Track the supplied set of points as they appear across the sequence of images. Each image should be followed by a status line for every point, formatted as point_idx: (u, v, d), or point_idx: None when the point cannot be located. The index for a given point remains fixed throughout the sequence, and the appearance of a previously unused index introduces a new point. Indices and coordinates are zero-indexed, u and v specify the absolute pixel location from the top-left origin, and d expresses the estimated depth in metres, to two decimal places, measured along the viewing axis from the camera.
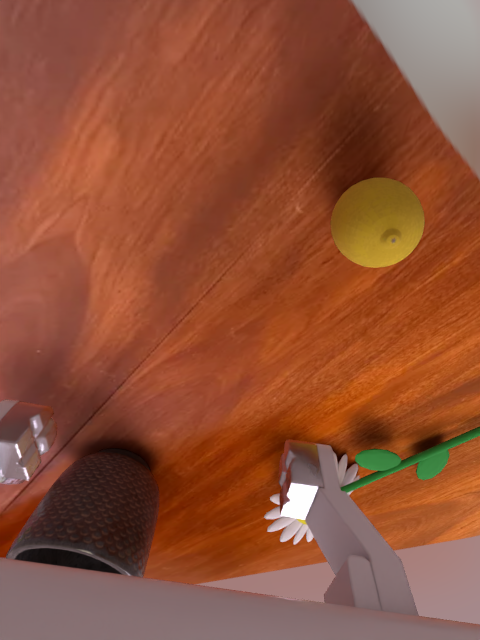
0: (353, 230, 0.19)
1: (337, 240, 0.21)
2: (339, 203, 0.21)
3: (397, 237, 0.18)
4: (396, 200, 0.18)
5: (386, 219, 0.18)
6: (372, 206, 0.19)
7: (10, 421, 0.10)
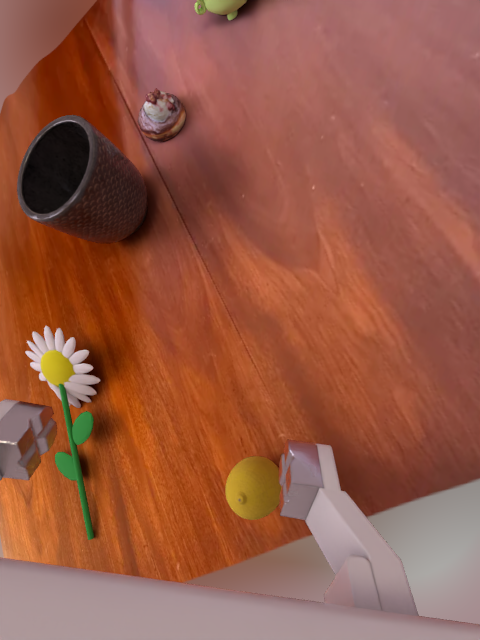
0: (253, 476, 0.31)
1: (251, 461, 0.32)
2: (273, 469, 0.33)
3: (240, 502, 0.29)
4: (262, 507, 0.30)
5: (253, 499, 0.30)
6: (263, 492, 0.30)
7: (10, 421, 0.10)
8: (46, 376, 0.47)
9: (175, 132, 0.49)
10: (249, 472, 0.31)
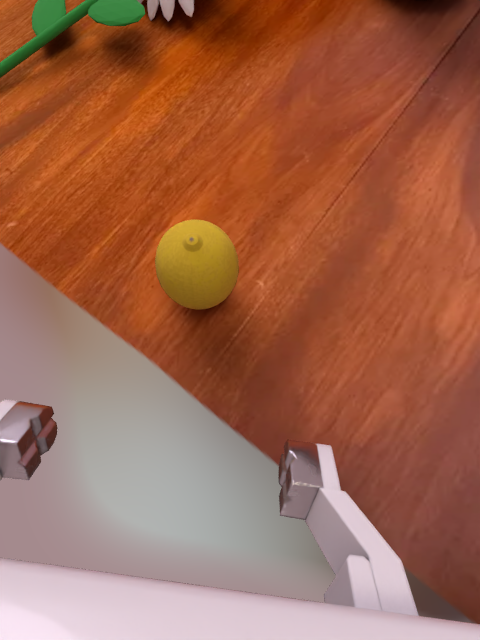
0: (226, 250, 0.20)
1: (233, 245, 0.21)
2: (235, 281, 0.22)
3: (188, 242, 0.18)
4: (193, 279, 0.19)
5: (200, 260, 0.19)
6: (214, 272, 0.19)
7: (10, 421, 0.10)
8: None
9: None
10: (227, 243, 0.20)
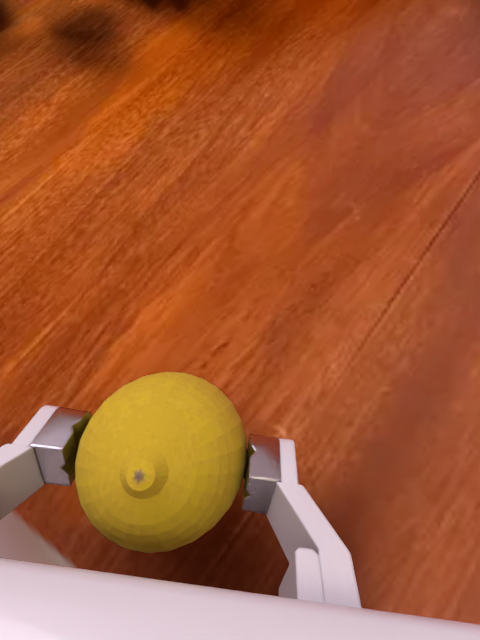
0: (223, 468, 0.09)
1: (237, 422, 0.11)
2: None
3: (132, 485, 0.08)
4: (146, 545, 0.08)
5: (162, 515, 0.08)
6: (194, 527, 0.09)
7: (53, 427, 0.10)
8: None
9: None
10: (225, 446, 0.09)
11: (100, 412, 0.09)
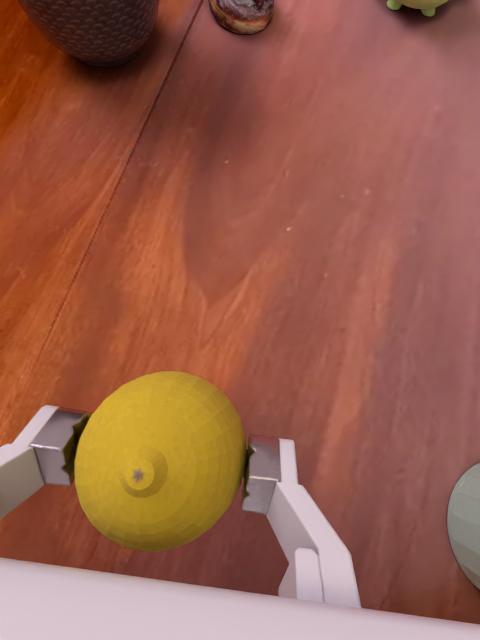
0: (222, 467, 0.09)
1: (237, 421, 0.11)
2: None
3: (131, 484, 0.08)
4: (145, 544, 0.08)
5: (161, 513, 0.08)
6: (193, 526, 0.09)
7: (53, 427, 0.10)
8: None
9: (237, 29, 0.36)
10: (224, 445, 0.09)
11: (99, 411, 0.09)
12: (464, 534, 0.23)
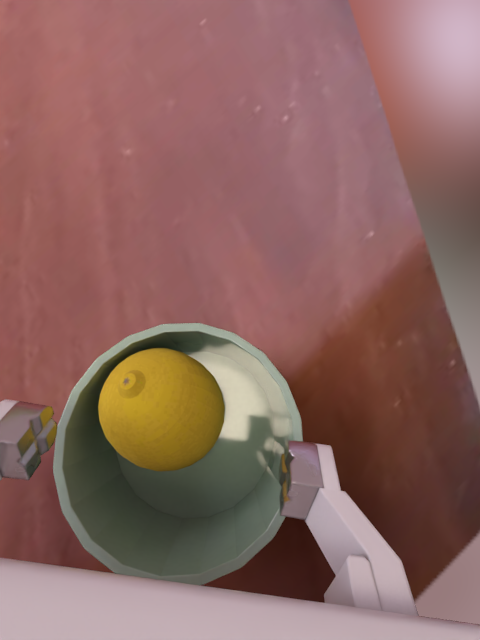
0: (185, 392, 0.13)
1: (208, 379, 0.15)
2: (214, 431, 0.15)
3: (122, 386, 0.13)
4: (131, 439, 0.13)
5: (139, 411, 0.13)
6: (162, 428, 0.13)
7: (10, 421, 0.10)
8: None
9: None
10: (188, 380, 0.14)
11: None
12: None
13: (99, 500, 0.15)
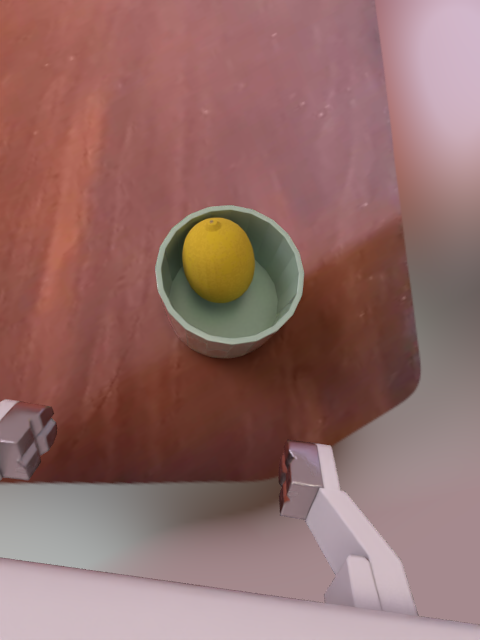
0: (241, 239, 0.23)
1: (251, 245, 0.24)
2: (248, 276, 0.24)
3: (208, 223, 0.22)
4: (207, 255, 0.22)
5: (216, 239, 0.22)
6: (226, 252, 0.22)
7: (10, 421, 0.10)
8: None
9: None
10: (243, 235, 0.23)
11: None
12: None
13: None
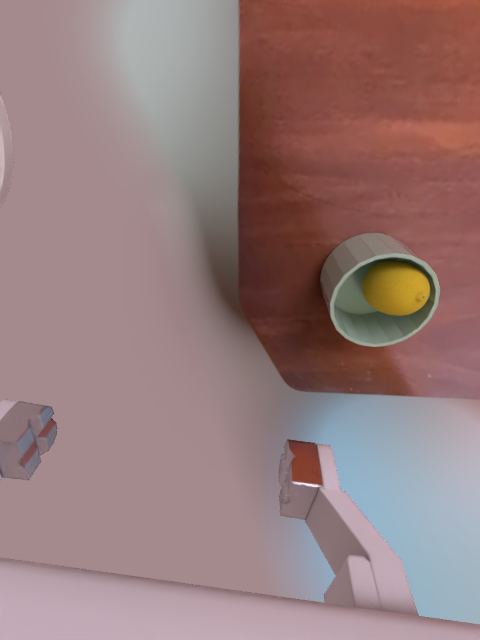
0: (406, 313, 0.32)
1: None
2: (378, 310, 0.34)
3: (421, 295, 0.30)
4: (396, 292, 0.31)
5: (408, 299, 0.31)
6: (396, 305, 0.31)
7: (10, 421, 0.10)
8: None
9: None
10: (409, 313, 0.32)
11: None
12: (368, 238, 0.34)
13: None
